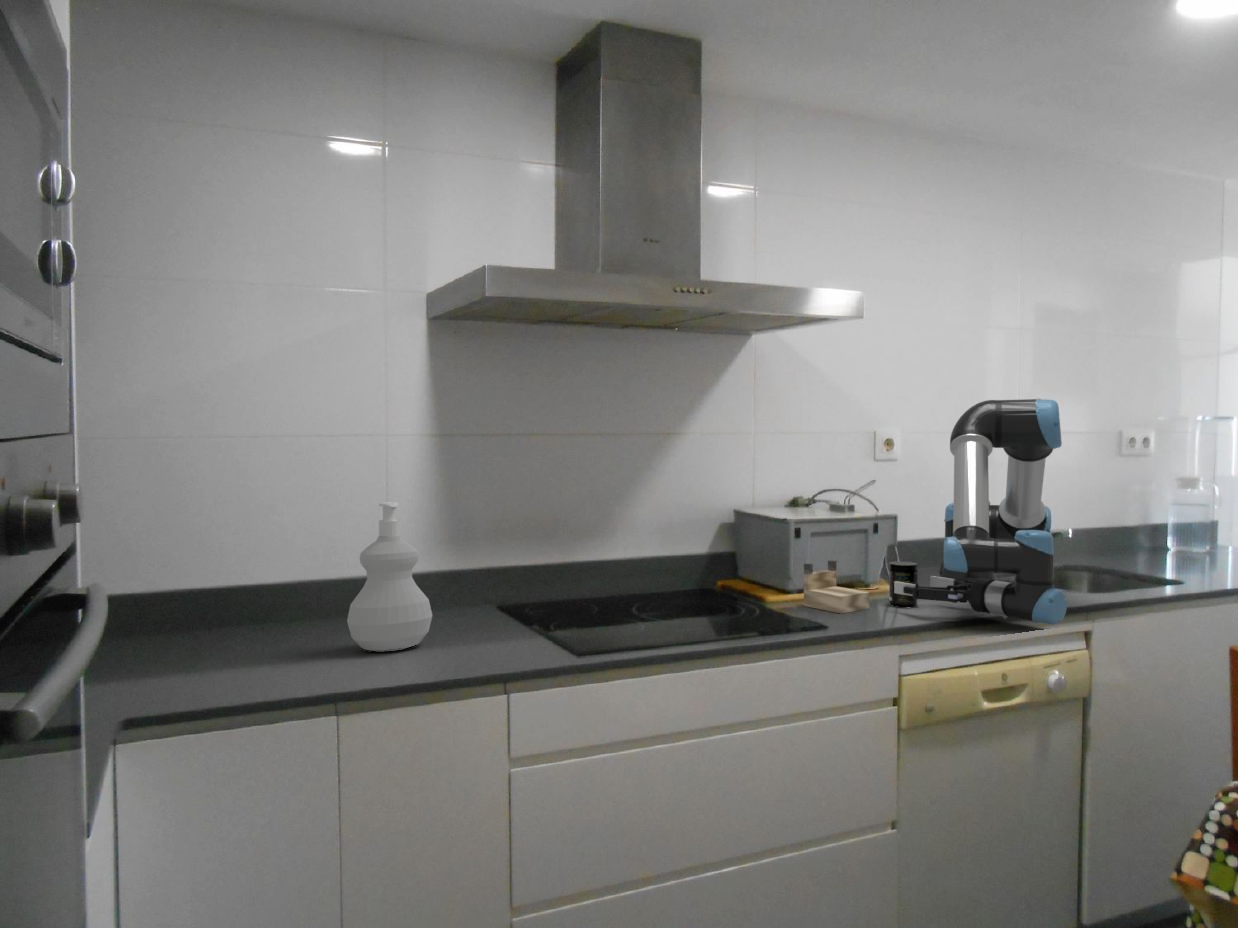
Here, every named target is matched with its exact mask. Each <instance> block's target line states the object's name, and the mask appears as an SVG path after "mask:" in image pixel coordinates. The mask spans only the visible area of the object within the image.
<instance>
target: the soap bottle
mask: <svg viewBox="0 0 1238 928" xmlns="http://www.w3.org/2000/svg"><path fill="white" fill-rule="evenodd" d="M378 506H379V507H382V519H379V520H378V536H377V538H376V540H375V541H373V542H372V543H371V544H369V545H368V546H367V547H365V549H364V550H362V551H361V552H360V553H359V554H360V555H359V562H360V564H361V566H362V567H363V568H364V570H365V571H366V581H365V583H364V585H363V587H362V588H361V590H360V591H359V593H357V595H356V597H355V598H354V599H353V600H352V602H351V603H350V604H349V605H350V606H349V611H348V614H347V619H346V622H347V625H348V626H347V627H348V629H349V634H350V636H351V639H352V640H353V641H354V642H355V643H356V644H357V645H358V646H359V647H360V648H361V649H362V648H363V649H367V650H388V649H398V648H407V647H411V646H414V645H417V644H418V645H419V644H420V642H422V640H423V639H424V638H425V637H426V635H427V634H428V633H429V631H430V627H431V623H432V619H433V612H432V609H431V607H432V606H431V604H430V599H429V597H428V596H426V594H425V593H424V592H423V590H421V589H420V587H419V586H418V585H417V583H416V582H415V580H414V578H413V569H414V568H415V566H416V565H417V563H418V561H419V558H420V557H419V556H420V555H419V551H418V549H416V548H415V547H414V546H413V545H411V544H410V543H408V542H406V541H405V540H403V538H402V537H401V535H400V520H399V519H396V517H395V516H396V515H395V513H396V512H395V511H396V510H395V509H397V508H398V506H399V503H398V502H396V501H385V502H383V501H381V502H379V504H378ZM418 645H417V646H418ZM414 647H415V646H414Z"/></svg>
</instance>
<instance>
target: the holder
mask: <svg viewBox="0 0 1238 928" xmlns="http://www.w3.org/2000/svg"><path fill="white" fill-rule="evenodd" d="M813 566H814V565H813V563H810V562H807V563H803V606H804V607H808V608H813V609H818V610H823V611H827V612H833V613H837V614H845V613H847V614H848V613H853V612H857V611H864V610H869V609H870V593H871V592H869V591H866V590H865V591H864V590H861V589H855V588H848V587H843V586H837V560H833V559H831V560H827V569H826V570H819V571H813V568H814V567H813Z"/></svg>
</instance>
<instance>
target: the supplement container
mask: <svg viewBox="0 0 1238 928" xmlns="http://www.w3.org/2000/svg"><path fill="white" fill-rule="evenodd" d="M918 569H919V568H918V563H917V562H912V561H900V560H899V561H889V562H888V571H889V574H888V578H889V579H888V580H889V581H888V602H889V605H890V606H892V605H893V606H892V607H895V606H898V607H897V608H902V607H910V608H914V607H916V606H917V605H918V599H913V596H909V595H903V594H898V593H894V582H895V581H898V582H904V583H910V584H915V583H918Z"/></svg>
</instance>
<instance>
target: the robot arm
mask: <svg viewBox="0 0 1238 928" xmlns="http://www.w3.org/2000/svg"><path fill="white" fill-rule="evenodd" d="M1059 409H1060V408H1059V404H1058V402H1057V401H1056V400H1054V399H1046V398H1045V399H1044V398H1043V399H1042V398H1032V399H1030V398H1029V399H989V400H988V399H987V400H984V401H981V402H978V403H976V404H974V405H972V406H971V407H969V408H968V409H967V410H966V411H964V413H963V414H962V415H961V416H960V417H959V418H958V420H957V421H956V423H955V425H954V426H953V429H952V431H951V433H950V434H951V435H950V440H949V450H950V453H951V454H952V456H953V457H954V458H953V459H954V460H953V463H954V464H953V502H952V503H949V504H948V505H946V507H945V511H944V512H945V513H944V520H943V522H945V523H944V539H943V559H942V562H941V565H940V567H939V571H938V574H937V576H935V575H930V576H929V586H924V585H923V586H921V585H919V582H917V583H915V584H910V583H904V582H898V581H895V582H894V593H898V594H903V595H909V596H913V599H917V600H927V601H937V602H939V601H940V602H948V603H953V604H956V603H958V602H960V603H968V604H969V606H970V607H971V609H972V610H974V612H979V613H984V614H990V615H991V614H993V615H996V616H1002V619H1005V620H1006V619H1007V618H1008V617H1009V618H1013V619H1018V620H1019V619H1020V620H1024V621H1028V622H1029V621H1030V622H1033V623H1036V624H1037V623H1041V624H1047V625H1049V624H1050V625H1056V624H1058V623H1060V622H1061V621H1063V619H1064V617H1065V616H1066V613H1067V609H1068V608H1067V607H1068V601H1067V599H1066V594H1065V593H1064V592H1063V591H1062V590H1061V589H1057V587H1055V583H1054V566H1055V563H1054V561H1055V550H1054V549H1055V548H1054V546H1055V545H1054V536H1053V535H1052V533H1051V527H1052V511H1051V509H1050V507H1048V506H1046V505H1045V504H1044V502H1043V501H1042V494H1043V487H1044V486H1043V484H1044V476H1045V468H1046V459H1048V457H1050V456H1051V454H1052V452H1053V451H1054V450H1056V449H1059V448H1061V447H1062V433H1061V432H1062V431H1061V422H1060V421H1061V420H1060V411H1059ZM993 448H994V449H1003V451H1004V452H1005V454H1006V455H1007V456H1008V457H1007V470H1006V471H1007V472H1006V473H1007V474H1006V487H1005V490H1006V491H1005V497H1004V498H1003V499H1002V500H1001V502H1000V503H999V504H998V505H997V504H991V502H990V499H989V496H990V495H989V486H990V485H989V482H990V481H989V456H990V455H991V453H993ZM995 574H1003V575H1004V574H1005V575H1006V574H1007V575H1014V582H1010V581H1004V580H1003V581H1002V580H997V578H996V575H995Z"/></svg>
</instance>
